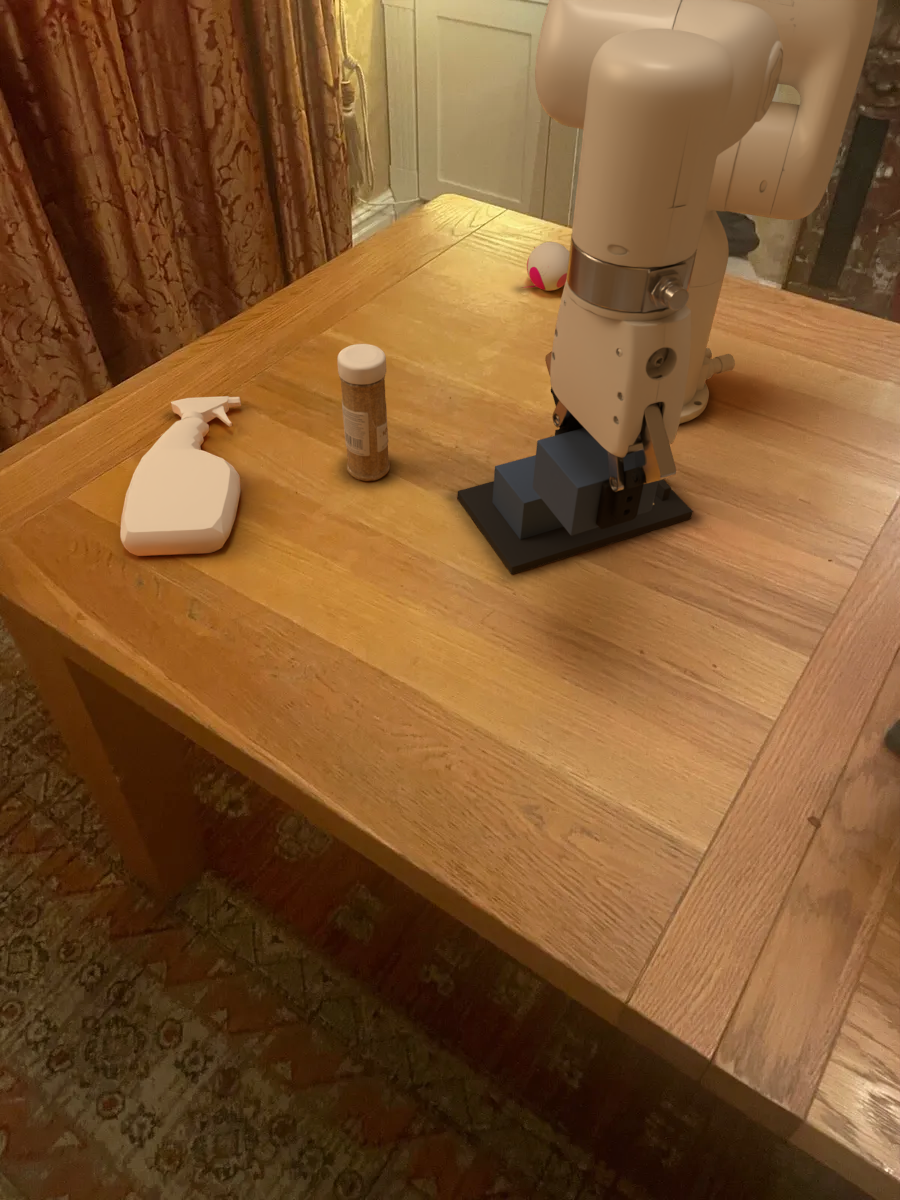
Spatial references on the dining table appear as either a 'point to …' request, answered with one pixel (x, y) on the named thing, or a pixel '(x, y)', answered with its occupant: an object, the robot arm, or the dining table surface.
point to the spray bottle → (182, 487)
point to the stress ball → (548, 266)
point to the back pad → (578, 478)
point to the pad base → (562, 537)
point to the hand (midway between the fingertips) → (592, 493)
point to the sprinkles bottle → (364, 410)
